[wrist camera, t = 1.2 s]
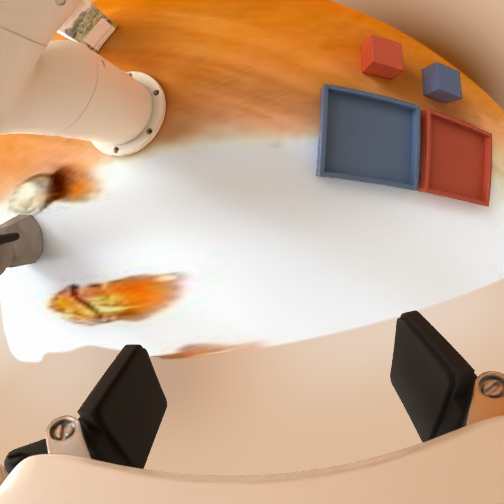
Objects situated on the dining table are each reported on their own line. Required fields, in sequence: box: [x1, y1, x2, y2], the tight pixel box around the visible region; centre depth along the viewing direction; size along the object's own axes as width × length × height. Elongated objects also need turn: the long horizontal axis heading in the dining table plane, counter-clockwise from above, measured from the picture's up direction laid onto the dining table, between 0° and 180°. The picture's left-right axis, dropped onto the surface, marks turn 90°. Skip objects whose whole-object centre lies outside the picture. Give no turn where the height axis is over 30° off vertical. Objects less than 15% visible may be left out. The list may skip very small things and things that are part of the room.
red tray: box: [418, 109, 492, 207], centre depth 33 cm, size 14×12×2 cm
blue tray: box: [316, 84, 420, 190], centre depth 33 cm, size 14×12×2 cm
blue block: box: [422, 62, 462, 103], centre depth 29 cm, size 4×4×4 cm
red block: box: [361, 35, 403, 79], centre depth 29 cm, size 4×4×4 cm
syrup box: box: [57, 0, 118, 53], centre depth 23 cm, size 6×6×14 cm
